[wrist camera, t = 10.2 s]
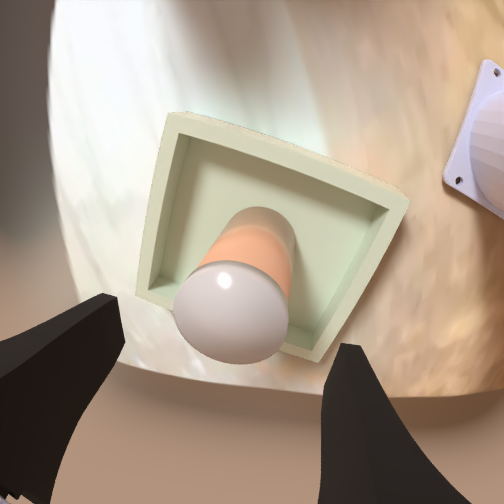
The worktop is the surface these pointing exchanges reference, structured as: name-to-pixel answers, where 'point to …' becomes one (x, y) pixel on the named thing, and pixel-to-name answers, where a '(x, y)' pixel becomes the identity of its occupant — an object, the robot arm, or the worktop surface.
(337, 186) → the tray
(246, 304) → the shaker
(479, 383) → the worktop surface
